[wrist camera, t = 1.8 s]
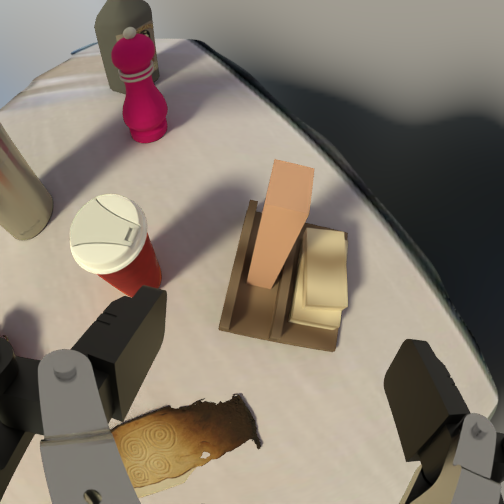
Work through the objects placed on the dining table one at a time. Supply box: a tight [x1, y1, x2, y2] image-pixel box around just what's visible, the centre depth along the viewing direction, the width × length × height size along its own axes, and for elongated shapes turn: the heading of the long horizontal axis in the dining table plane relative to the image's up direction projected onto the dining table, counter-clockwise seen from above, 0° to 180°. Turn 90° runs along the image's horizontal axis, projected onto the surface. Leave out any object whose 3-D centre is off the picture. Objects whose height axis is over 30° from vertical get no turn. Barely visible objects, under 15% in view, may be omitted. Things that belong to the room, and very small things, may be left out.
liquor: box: [94, 0, 159, 94], centre depth 38 cm, size 9×9×30 cm
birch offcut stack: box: [288, 228, 348, 330], centre depth 35 cm, size 11×6×5 cm, turn 169°
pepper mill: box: [111, 27, 168, 143], centre depth 37 cm, size 7×7×20 cm
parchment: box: [110, 394, 261, 498], centre depth 29 cm, size 25×10×1 cm, turn 119°
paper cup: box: [70, 194, 161, 297], centre depth 30 cm, size 8×8×14 cm
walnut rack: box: [219, 200, 348, 352], centre depth 37 cm, size 16×14×4 cm
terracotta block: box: [246, 159, 314, 289], centre depth 29 cm, size 4×3×18 cm
